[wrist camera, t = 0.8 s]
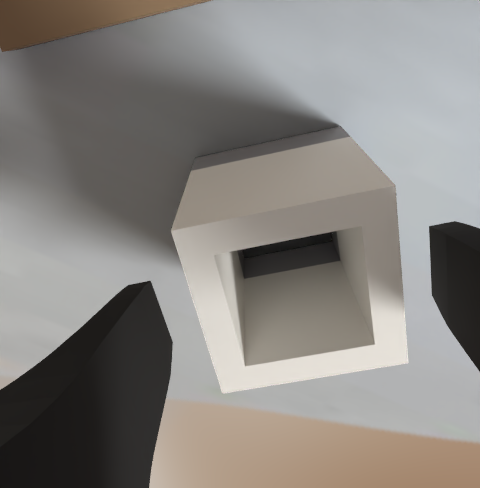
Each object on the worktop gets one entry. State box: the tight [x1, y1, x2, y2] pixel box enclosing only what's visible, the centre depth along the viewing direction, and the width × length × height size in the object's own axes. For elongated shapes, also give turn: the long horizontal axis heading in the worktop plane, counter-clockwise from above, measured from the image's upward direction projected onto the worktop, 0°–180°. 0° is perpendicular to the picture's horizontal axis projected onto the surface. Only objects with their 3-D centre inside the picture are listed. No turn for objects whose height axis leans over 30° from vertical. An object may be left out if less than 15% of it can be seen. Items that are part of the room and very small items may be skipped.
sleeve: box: [171, 126, 408, 393], centre depth 14 cm, size 5×5×6 cm
